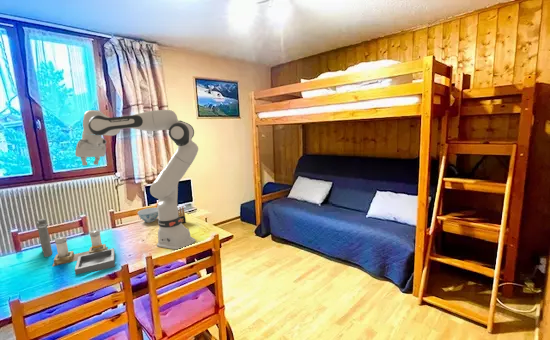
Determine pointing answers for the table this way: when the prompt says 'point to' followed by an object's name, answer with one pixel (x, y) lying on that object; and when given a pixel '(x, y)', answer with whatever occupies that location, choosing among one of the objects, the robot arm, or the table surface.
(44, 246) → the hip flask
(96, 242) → the cylinder
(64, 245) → the cylinder
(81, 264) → the tray
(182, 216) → the ammunition clip
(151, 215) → the chinaware
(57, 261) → the fuse block
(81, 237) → the table surface
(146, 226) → the table surface
